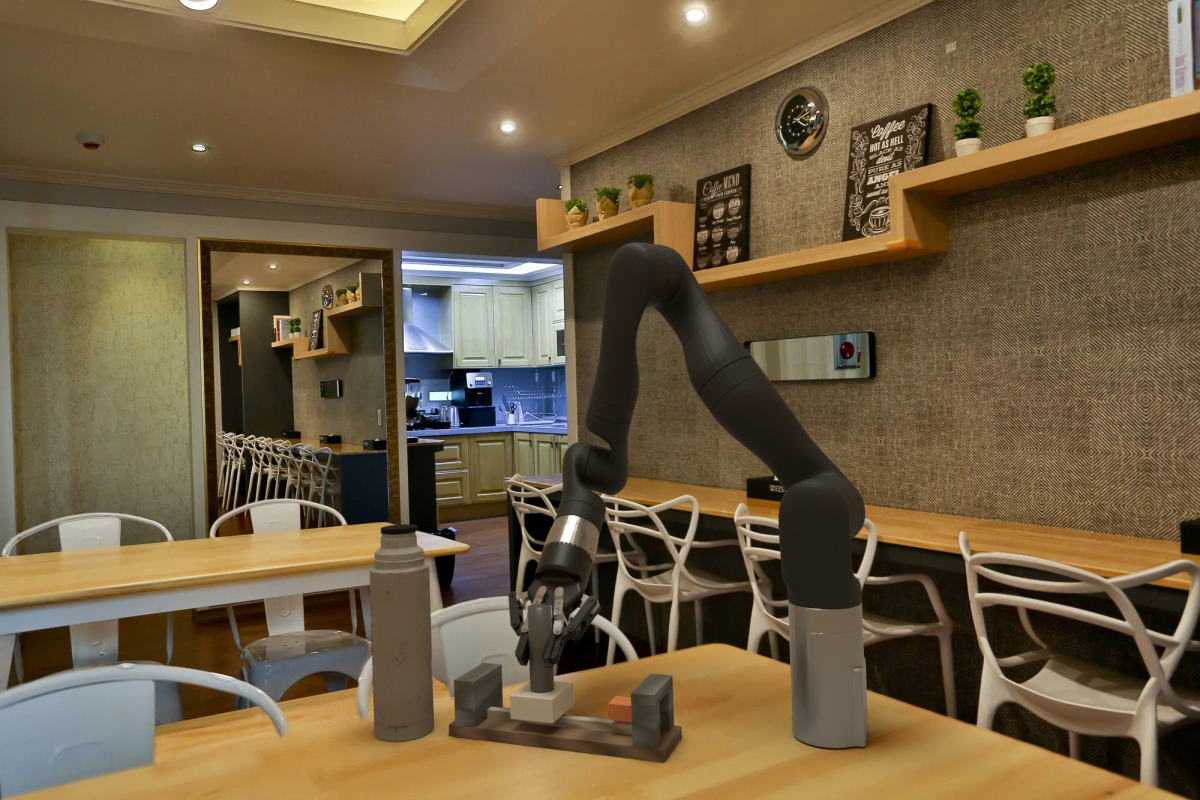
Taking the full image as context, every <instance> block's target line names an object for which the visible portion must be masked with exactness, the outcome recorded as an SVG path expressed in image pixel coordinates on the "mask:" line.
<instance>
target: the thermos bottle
mask: <svg viewBox="0 0 1200 800" xmlns="http://www.w3.org/2000/svg"><path fill="white" fill-rule="evenodd" d="M417 531H418V525H416V524H409V523H407V524H404V523H403V524H400V523H399V524H391V525H386V526H382V527H380V534H381V537H380V547H379V548H378V549H376V550H375V551H374V556H373V558H372V559H373V561H374V565H373V566H371V567H370V568H369V592H370V594H369V595H370V600H369V601H370V629H371V663H372V664H371V665H372V666H371V668H372V669H371V670H372V692H373V693H372V697H373V698H372V699H373V702H372V703H373V704H372V705H373V729H374V733H373V734H374V736H375V738H377V739H378V738H379V740H381V741H384V740H385V742H407V741H411V740H417V739H420V738H423V737H425V736H427V735H429V734H430V733H431V732H432V731H433V730H434V728H435V717H434V716H435V715H434V714H435V713H434V707H435V706H434V681H433V679H434V678H433V670H432V667H433V666H432V665H433V664H432V661H433V659H432V658H433V657H432V655H433V654H432V652H433V651H432V650H433V648H432V646H433V644H432V643H433V642H432V640H433V639H432V614H431V610H432V609H431V608H432V607H431V583H430V581H431V580H430V564H429V563H428V562H427V563H426V562H425V555H426V553H425V552H424V548H423V547H421V546H419V545H418V537H417V534H416V532H417Z"/></svg>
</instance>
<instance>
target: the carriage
mask: <svg viewBox="0 0 1200 800" xmlns="http://www.w3.org/2000/svg"><path fill="white" fill-rule="evenodd" d="M527 612H528V636H529V661H528V663H529V665H528V667H529V682H527V683H526V684H524V685H523V686H522V687H520V688H519V689H518V690H516V691H514V692H513V693H512V694H510V695H509V700H510V701H509V704H510V707H509V708H510V710H511V719H517V720H526V721H535V722H544V723H554V722H555V721H556V720H557V719H558V718H560V717H561V716H562V715H563V714H566V712H568V711H569V710H570V709H571V708H572V707H573V706H575V702H574V701H575V699H574V695H575V693H574V682H567V681H557V680H556V681H555V673H554V672H555V669H554V668H555V666H554V667H553V668H547V667H546V665H545V663H544V655H545V652H546V649H547V645H548V642H549V639H550V636H551V635H552V636H553V635H554V633H553V619H552V606H551V605H550V604H533V605H531V604H530V605H527Z"/></svg>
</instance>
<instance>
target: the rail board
mask: <svg viewBox="0 0 1200 800" xmlns="http://www.w3.org/2000/svg"><path fill="white" fill-rule="evenodd" d="M502 666H503V665H502V663H501V664H500V663H491V662H490V663H489V662H482V663H481V664H478V665H477V666H475V667H474V668H472V669H470V670H468V671H467V672H465V673H463V674H462V675H460V676H458V677H457V678H455V679H454V680H453V696H454V699H453V701H454V702H453V703H454V720H452V722H450V723H449V724H448V736H449V737H453V738H454V737H456V738H464V739H469V740H470V739H473V740H480V741H489V742H494V743H495V742H496V743H505V744H513V745H521V746H527V747H529V746H530V747H538V748H544V749H553V750H559V751H560V750H561V751H569V752H577V753H585V754H595V755H600V756H610V757H616V758H617V757H619V758H625V759H635V760H642V761H649V762H650V761H651V762H657V763H658V762H659V763H665V762H666V761H667V759H668V758H669V756H670V755H671V753H673V751H674V750H675V749H676V747H677V745H678V743H679V742H680V741H681V740H682V738H683V731H682V726H681V725H675V715H674V714H675V713H674V712H675V709H674V708H675V707H674V683H673V682H674V681H673V675H672V674H661V673H649V674H648V675H647V676H646V677H645V678H644V679H643V681H642V682H640V684H638V685H637V686H636V687H635V689H633V690H632V691H631V693H630V697H631V713H632V722H628V721H619V720H609V717H600V716H590V715H581V714H572V713H564V714H563V715H562V716H561V717H560V718H558V719H557V720H556V721H555V722H554V723H544V722H535V721H526V720H517V719H511V710H510V707H505V706H504V697H503V692H504V690H503V667H502Z"/></svg>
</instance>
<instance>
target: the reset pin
mask: <svg viewBox="0 0 1200 800" xmlns="http://www.w3.org/2000/svg"><path fill="white" fill-rule="evenodd" d="M607 709H608V713H607V714H608V715H607V716H608V718H609V720H619V721H628V722H632V713H631V696H630V697H629V696H623V695H622V696H620V695H616V696H615V697H614V698H612V699H611V700H610V701H609V702H608V704H607Z"/></svg>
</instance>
